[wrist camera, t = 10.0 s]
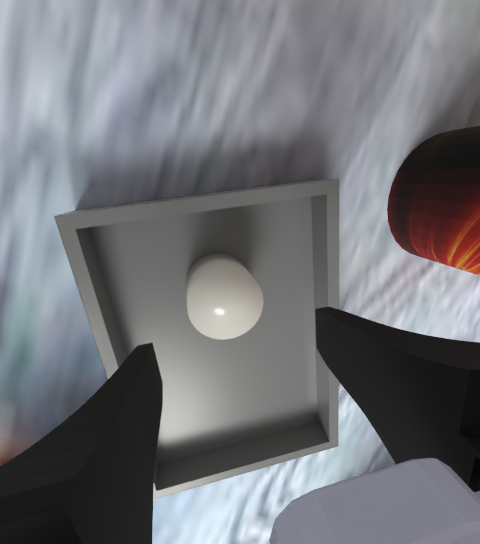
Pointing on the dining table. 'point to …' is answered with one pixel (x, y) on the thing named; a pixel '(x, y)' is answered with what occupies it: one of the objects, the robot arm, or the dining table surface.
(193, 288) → the stone
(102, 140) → the dining table surface
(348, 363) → the robot arm
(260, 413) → the tray
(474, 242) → the mug
